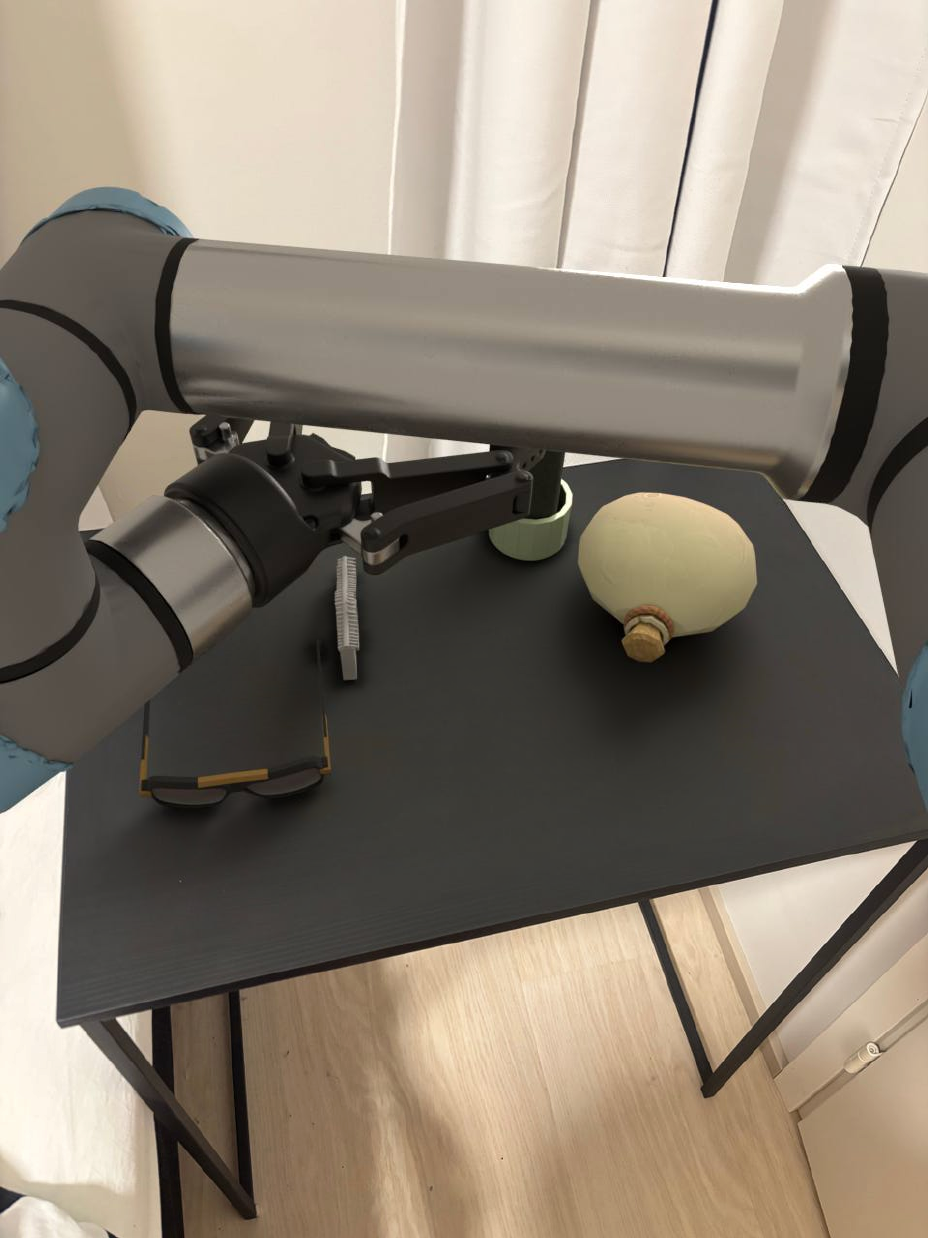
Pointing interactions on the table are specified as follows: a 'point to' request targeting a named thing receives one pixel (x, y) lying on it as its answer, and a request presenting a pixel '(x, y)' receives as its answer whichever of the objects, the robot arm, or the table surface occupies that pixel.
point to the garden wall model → (347, 616)
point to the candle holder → (535, 532)
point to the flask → (666, 568)
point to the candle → (546, 485)
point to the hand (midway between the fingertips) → (469, 359)
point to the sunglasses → (236, 775)
